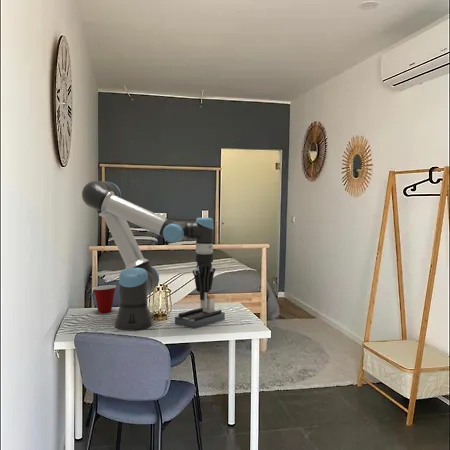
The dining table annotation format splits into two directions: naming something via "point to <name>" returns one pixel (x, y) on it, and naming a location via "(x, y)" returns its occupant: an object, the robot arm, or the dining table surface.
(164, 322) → the dining table surface
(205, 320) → the switch panel
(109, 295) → the plastic cup
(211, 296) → the switch knob
